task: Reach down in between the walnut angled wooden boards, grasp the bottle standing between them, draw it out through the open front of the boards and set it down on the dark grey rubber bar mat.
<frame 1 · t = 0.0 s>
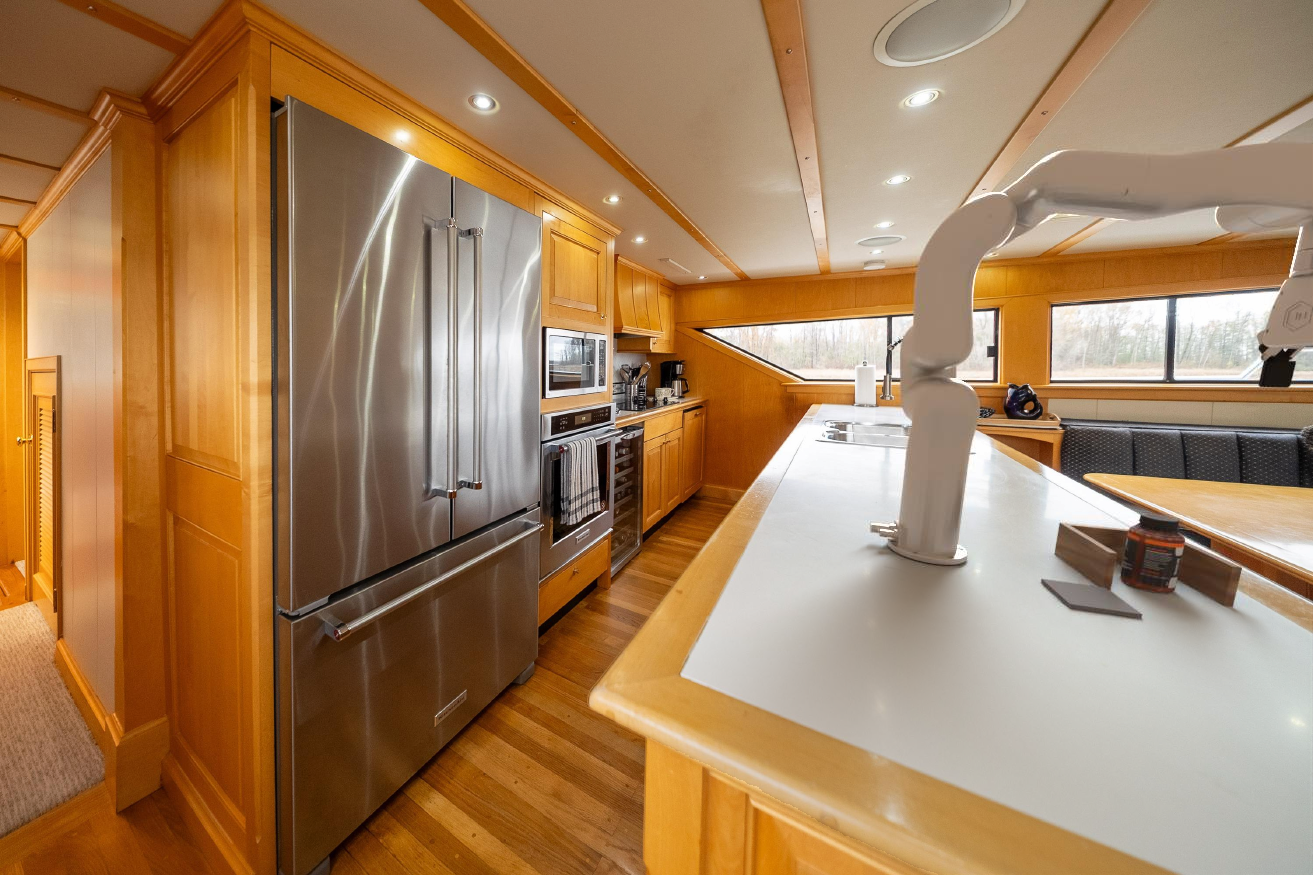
hand: (1307, 388, 64), 31 cm above the counter, fingers open, 9 cm apart
supplement bottle: (1145, 586, 70), on the counter
mat: (1087, 598, 66), on the counter
angled wooden boards: (1132, 577, 73), on the counter
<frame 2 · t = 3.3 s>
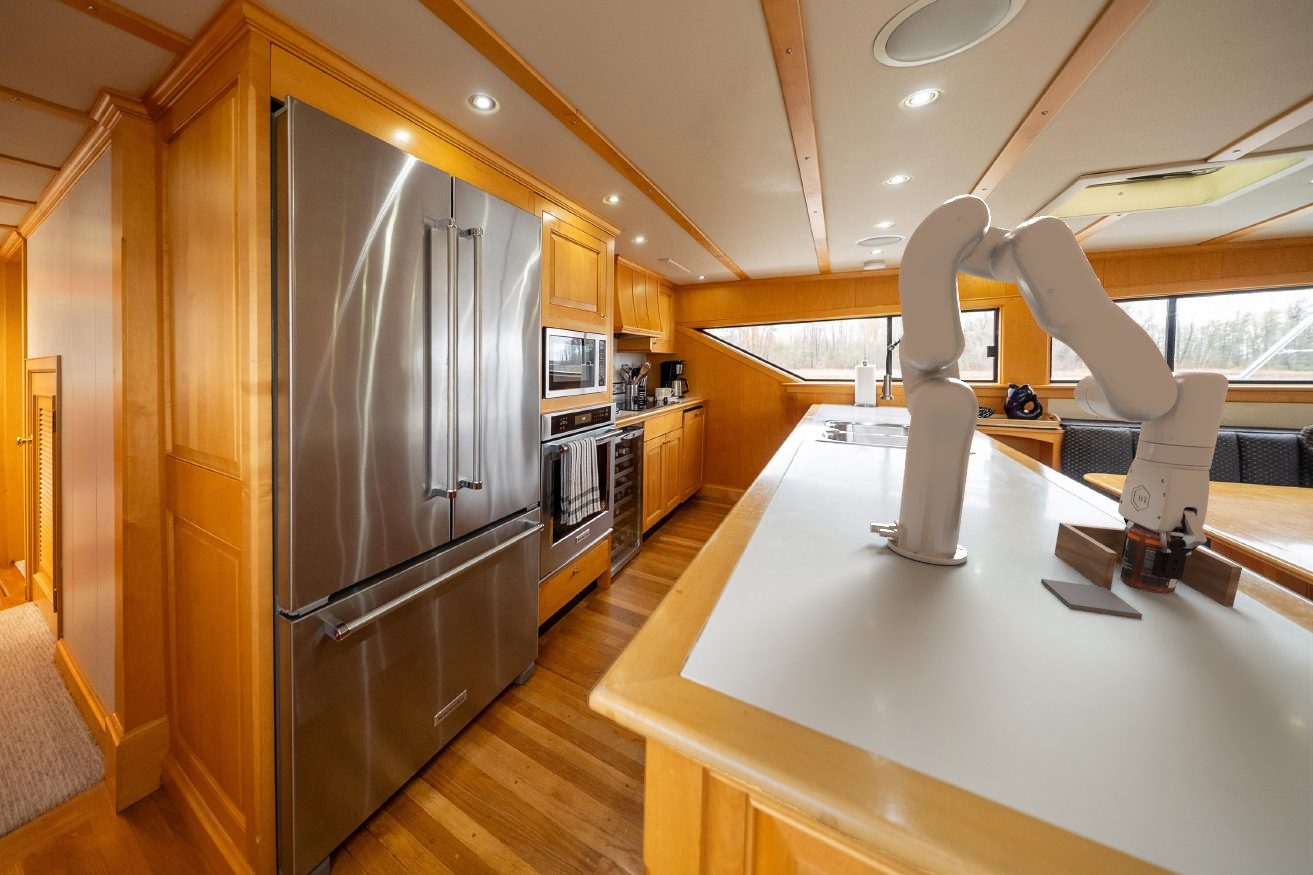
hand: (1150, 566, 70), 3 cm above the counter, fingers closed on supplement bottle, 6 cm apart
supplement bottle: (1145, 586, 70), on the counter, touching gripper
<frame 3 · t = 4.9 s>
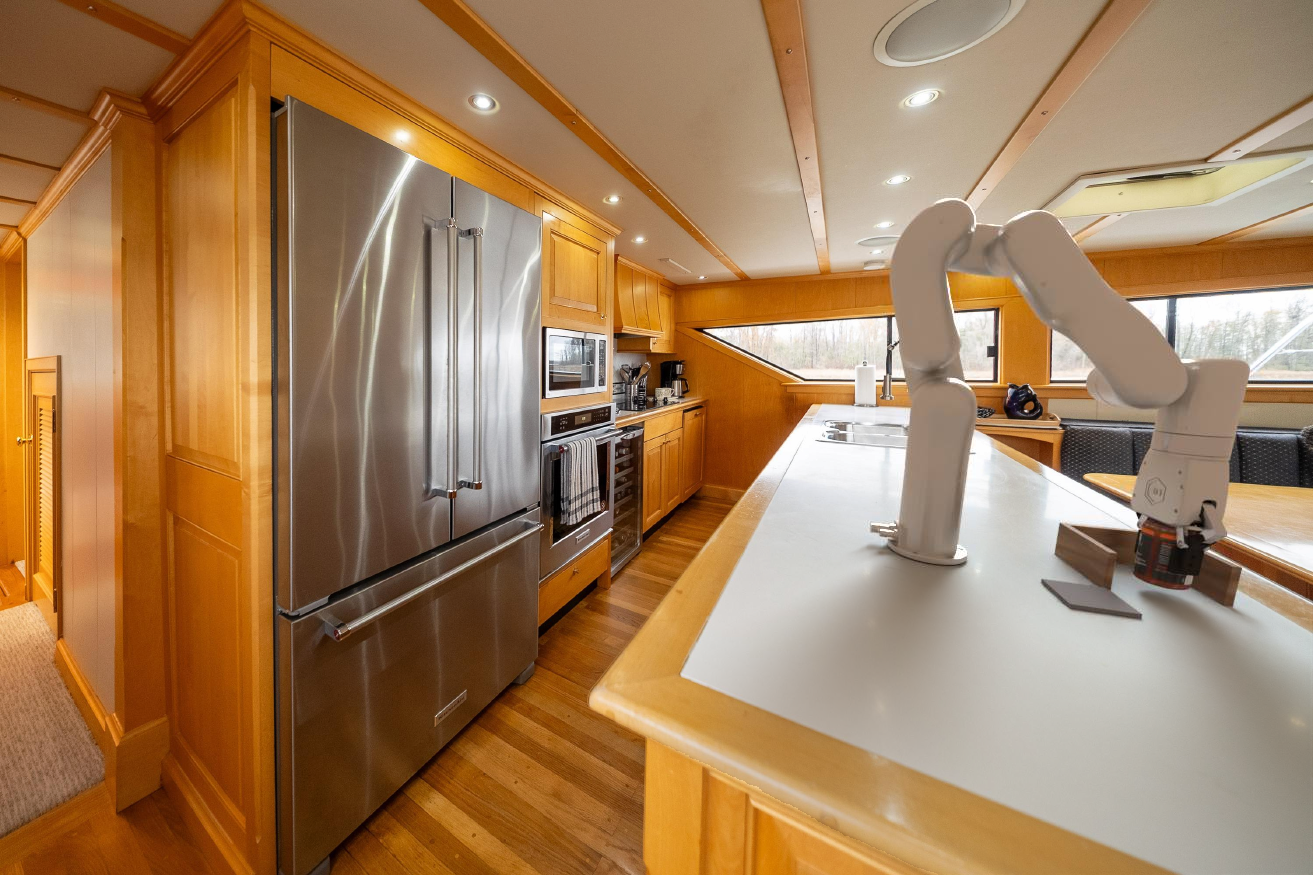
hand: (1164, 562, 67), 5 cm above the counter, fingers closed on supplement bottle, 5 cm apart
supplement bottle: (1159, 583, 67), point 2 cm above the counter, touching gripper
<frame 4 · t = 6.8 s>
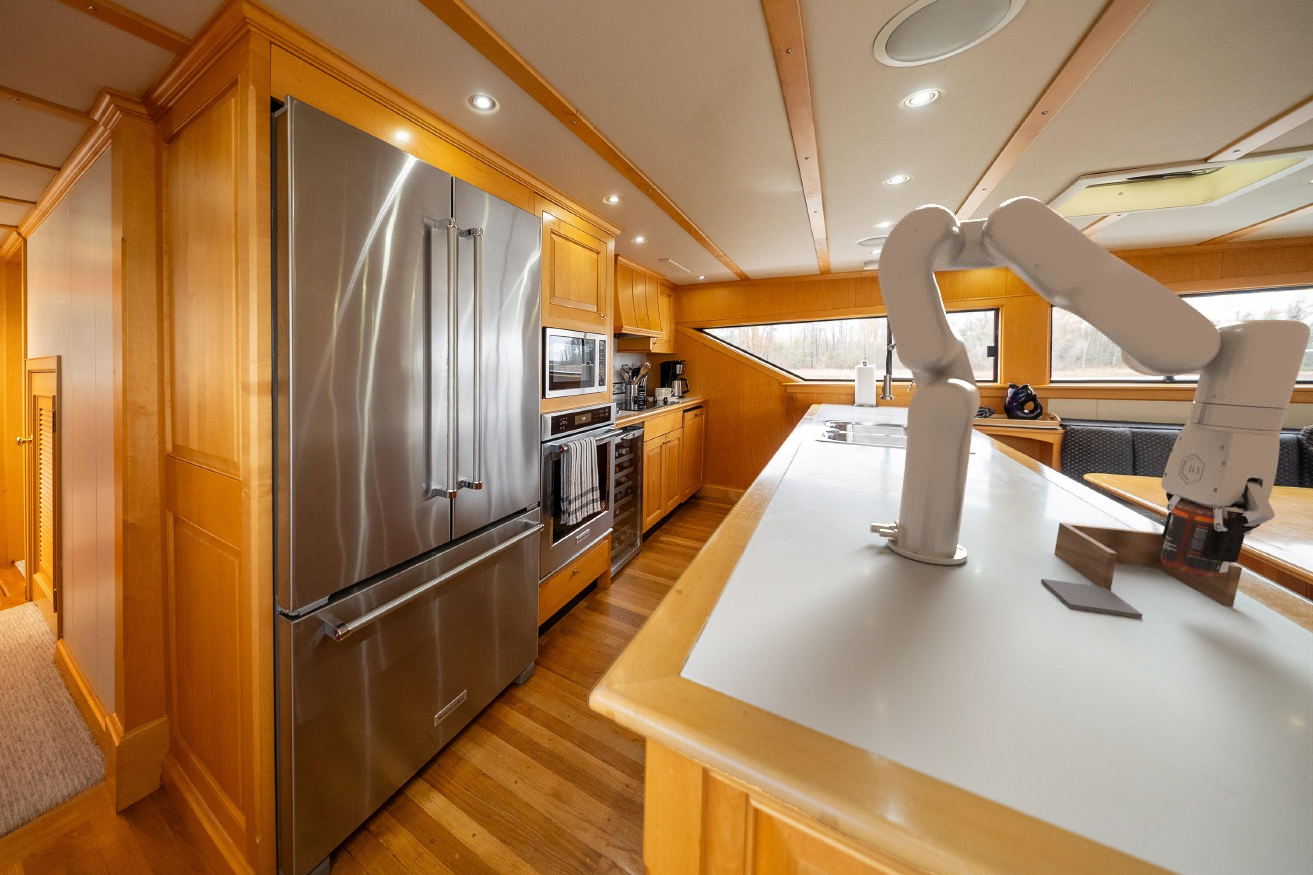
hand: (1197, 548, 61), 9 cm above the counter, fingers closed on supplement bottle, 5 cm apart
supplement bottle: (1190, 571, 62), point 6 cm above the counter, touching gripper
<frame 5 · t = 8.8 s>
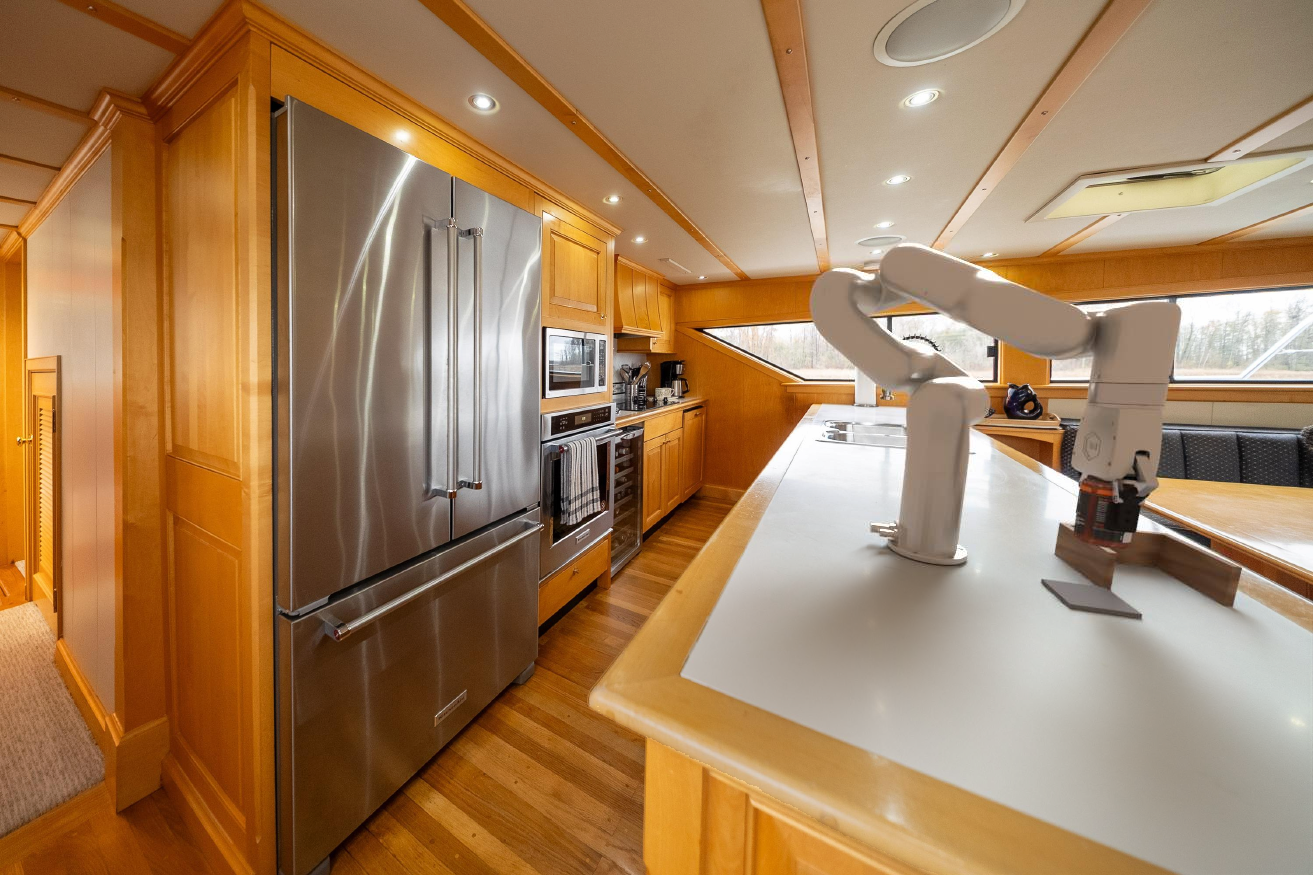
hand: (1104, 522, 64), 12 cm above the counter, fingers closed on supplement bottle, 5 cm apart
supplement bottle: (1100, 543, 64), point 9 cm above the counter, touching gripper
when the fingers open (4 cm above the counter, at t = 10.3 s): supplement bottle stays where it is, resting on mat.
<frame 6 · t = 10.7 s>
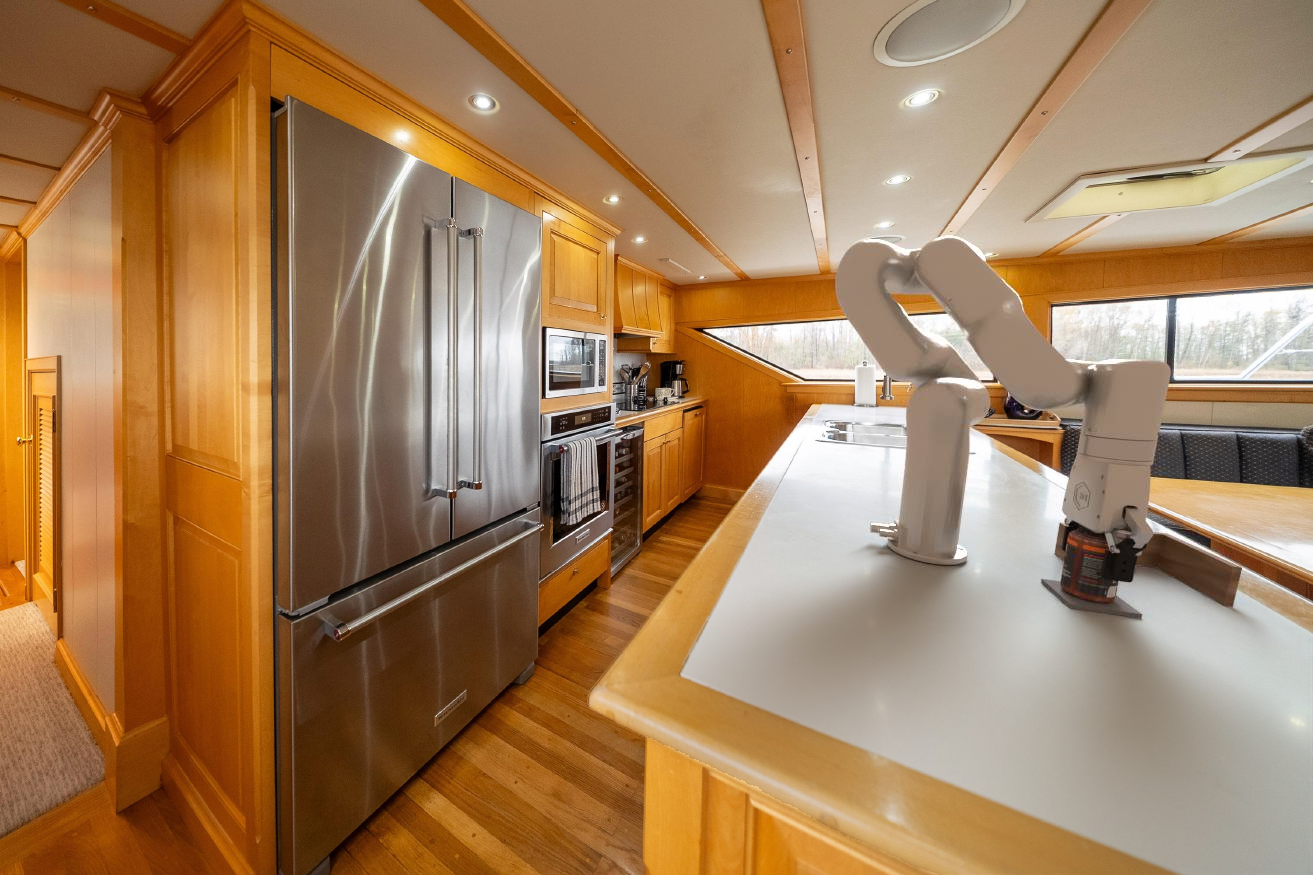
hand: (1093, 565, 65), 5 cm above the counter, fingers open, 9 cm apart
supplement bottle: (1085, 595, 66), resting on mat
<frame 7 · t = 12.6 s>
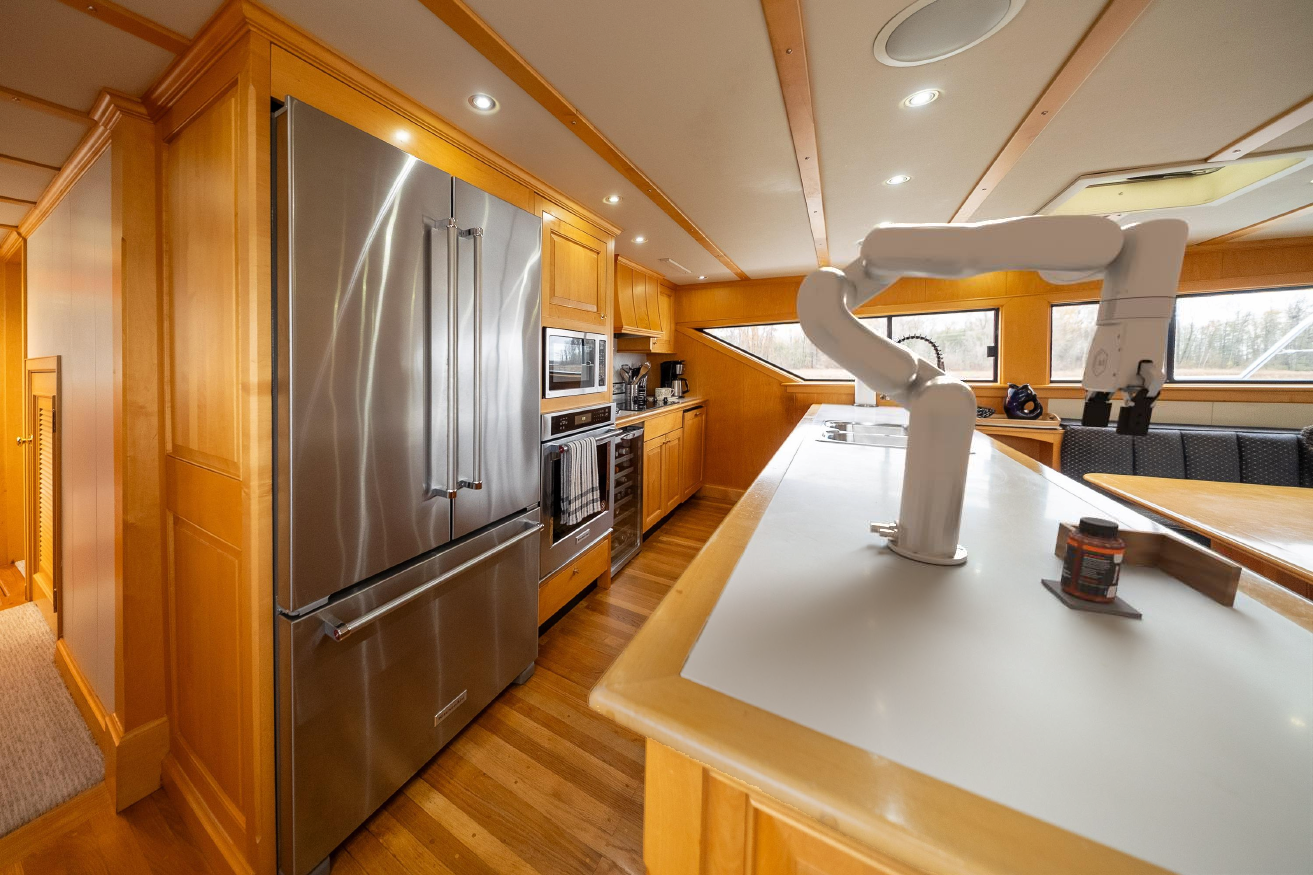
hand: (1111, 430, 67), 24 cm above the counter, fingers open, 9 cm apart
nothing on the counter moved.
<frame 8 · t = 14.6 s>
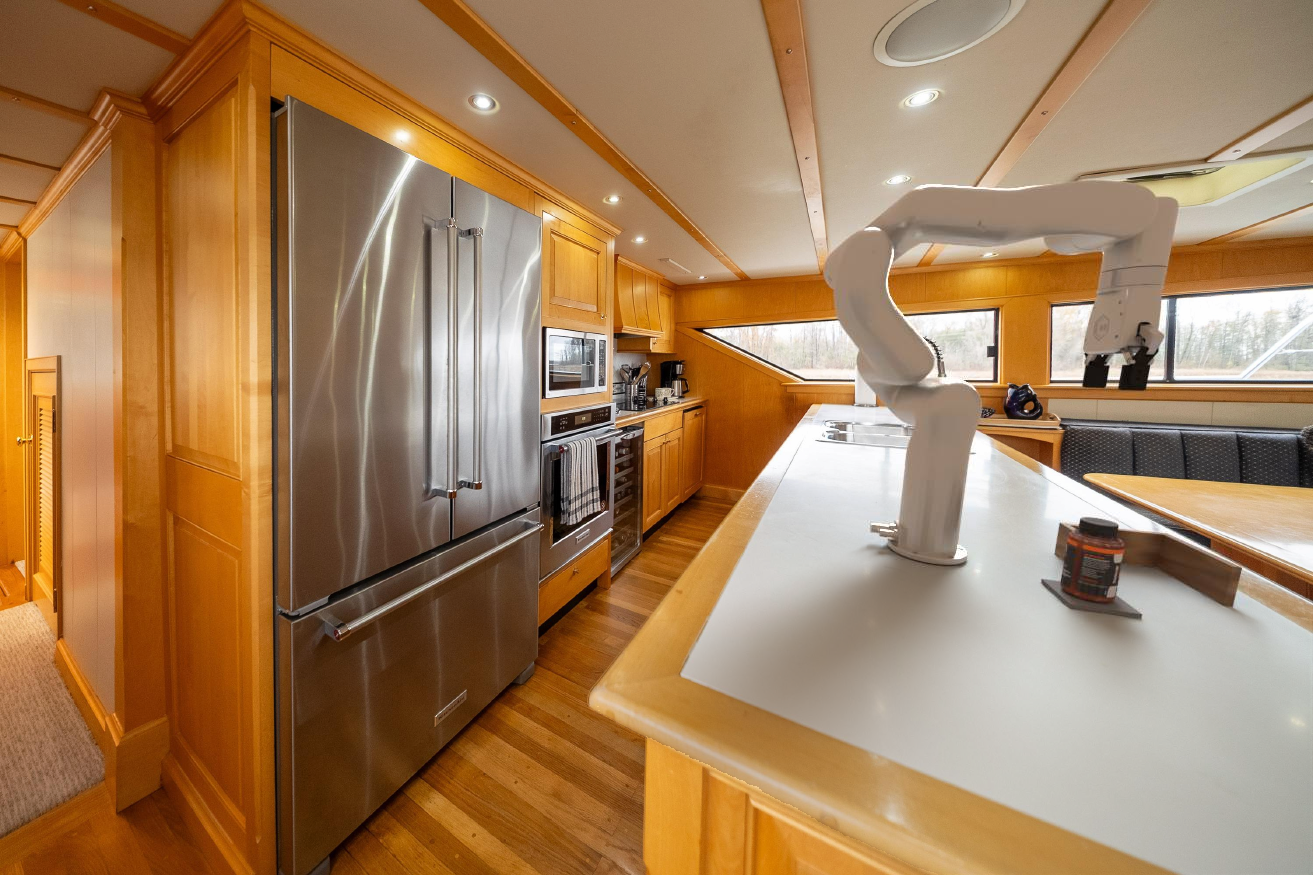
hand: (1111, 389, 75), 30 cm above the counter, fingers open, 9 cm apart
nothing on the counter moved.
at the end: supplement bottle inside the target area on the mat (0.3 cm from its centre), point 0.4 cm above the mat's base; supplement bottle tilted 0°; the gripper is holding nothing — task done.
